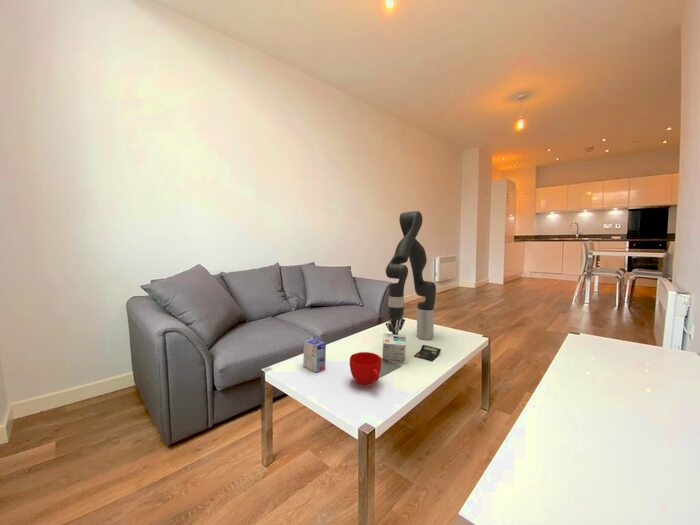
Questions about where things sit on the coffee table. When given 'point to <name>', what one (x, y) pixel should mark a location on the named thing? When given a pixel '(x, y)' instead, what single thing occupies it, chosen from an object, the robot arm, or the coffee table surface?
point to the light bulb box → (394, 347)
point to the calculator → (428, 353)
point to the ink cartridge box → (314, 354)
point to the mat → (387, 367)
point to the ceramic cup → (365, 367)
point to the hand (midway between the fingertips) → (395, 339)
